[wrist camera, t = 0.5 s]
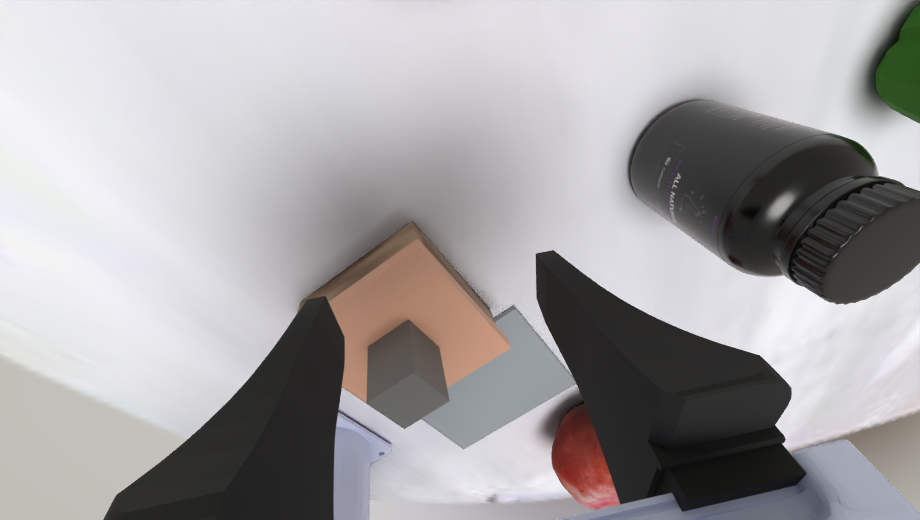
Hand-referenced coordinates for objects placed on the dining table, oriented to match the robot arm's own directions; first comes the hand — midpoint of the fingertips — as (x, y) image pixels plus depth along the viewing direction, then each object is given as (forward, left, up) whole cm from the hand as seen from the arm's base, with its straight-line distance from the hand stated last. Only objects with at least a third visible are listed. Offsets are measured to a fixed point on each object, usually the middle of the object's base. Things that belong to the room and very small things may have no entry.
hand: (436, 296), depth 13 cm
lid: (-6, -6, -8) cm, 12 cm away
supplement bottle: (+14, -9, -11) cm, 20 cm away
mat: (-6, -17, -11) cm, 21 cm away
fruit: (-1, -28, -11) cm, 31 cm away
